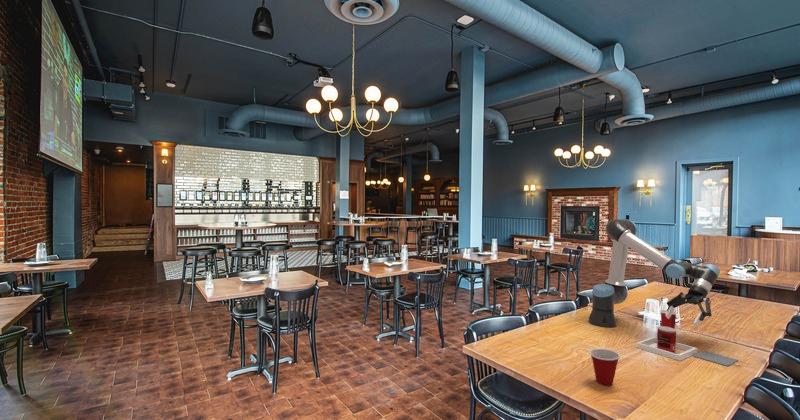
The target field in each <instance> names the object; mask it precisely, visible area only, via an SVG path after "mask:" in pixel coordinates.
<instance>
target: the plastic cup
mask: <svg viewBox="0 0 800 420" xmlns="http://www.w3.org/2000/svg"><path fill="white" fill-rule="evenodd" d="M589 355H590V356H591V361H592V364H593V365H592V366H593V370H594V375H595V381H596V383H597V384H599V385H603V386H608V387H609V386H610V387H611V386H613V384H614V379H615V377H616V376H615V375H616V371H617V366H618V363H619V359H620V355H621V354H619V353H618V352H616V351H614V350H610V349H607V348H594V349H590V350H589Z"/></svg>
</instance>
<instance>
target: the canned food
mask: <svg viewBox="0 0 800 420" xmlns="http://www.w3.org/2000/svg"><path fill="white" fill-rule="evenodd" d="M656 332H657V333H656V334H657V335H656V337H657V342H656V344H657V345H656V348H658V349H662V350H665V351H668V352H672V353H675V354H676V350H677V348H676V343H677V329H676V328H675V329H673V328H670V327H665V326H657V331H656Z"/></svg>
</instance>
